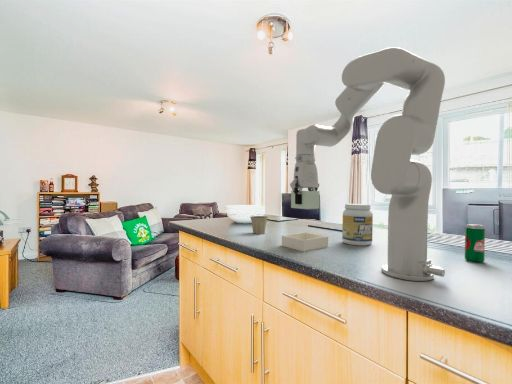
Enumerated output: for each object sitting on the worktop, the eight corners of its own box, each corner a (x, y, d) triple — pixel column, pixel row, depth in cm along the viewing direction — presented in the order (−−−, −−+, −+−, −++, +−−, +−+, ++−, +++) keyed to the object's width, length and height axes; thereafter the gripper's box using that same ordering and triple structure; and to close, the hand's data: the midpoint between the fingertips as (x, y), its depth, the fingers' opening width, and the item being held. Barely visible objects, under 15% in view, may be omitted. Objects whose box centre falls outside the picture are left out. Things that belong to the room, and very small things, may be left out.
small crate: (319, 208, 107) (319, 191, 107) (307, 209, 103) (307, 191, 103) (302, 207, 114) (303, 190, 114) (291, 207, 110) (291, 190, 110)
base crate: (328, 247, 108) (328, 236, 108) (303, 252, 100) (303, 240, 100) (305, 242, 118) (305, 232, 118) (281, 246, 109) (281, 235, 109)
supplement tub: (356, 247, 107) (356, 205, 107) (336, 241, 119) (336, 203, 118) (378, 245, 112) (379, 204, 112) (357, 239, 123) (358, 203, 123)
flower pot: (247, 232, 141) (247, 216, 141) (263, 231, 145) (263, 215, 145) (254, 235, 132) (254, 218, 132) (271, 234, 136) (271, 217, 136)
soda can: (476, 263, 84) (477, 226, 84) (460, 259, 89) (461, 224, 89) (488, 262, 86) (489, 225, 85) (472, 258, 90) (472, 223, 90)
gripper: (296, 157, 100) (296, 205, 100) (326, 160, 110) (326, 203, 111) (283, 159, 106) (283, 204, 106) (312, 162, 116) (312, 202, 117)
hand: (305, 203), depth 108 cm, fingers closed on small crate, 7 cm apart
